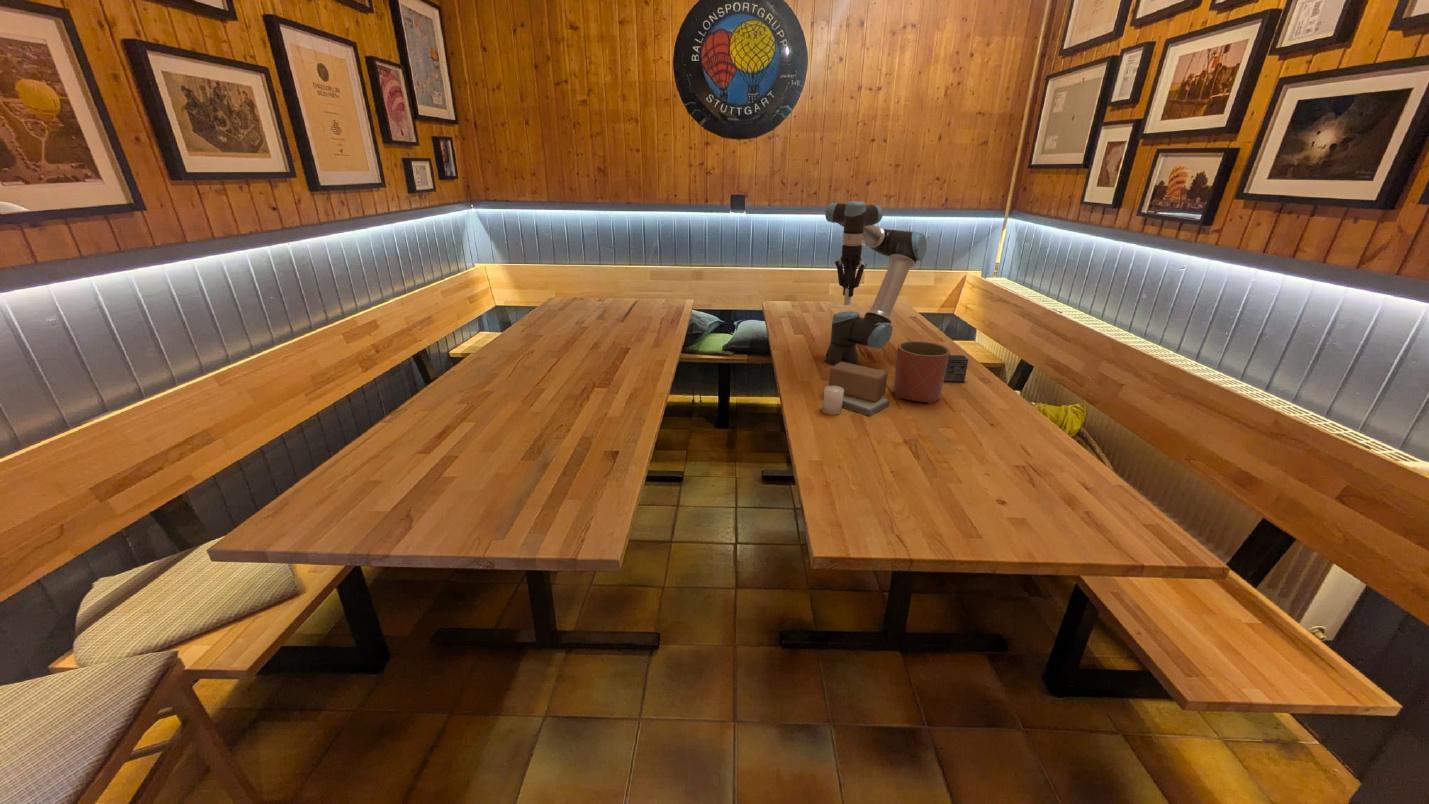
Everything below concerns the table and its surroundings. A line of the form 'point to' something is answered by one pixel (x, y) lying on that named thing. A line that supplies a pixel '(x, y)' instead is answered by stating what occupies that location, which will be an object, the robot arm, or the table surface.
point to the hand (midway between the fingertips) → (847, 304)
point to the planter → (920, 370)
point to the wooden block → (859, 380)
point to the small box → (956, 369)
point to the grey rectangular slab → (864, 404)
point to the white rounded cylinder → (833, 399)
